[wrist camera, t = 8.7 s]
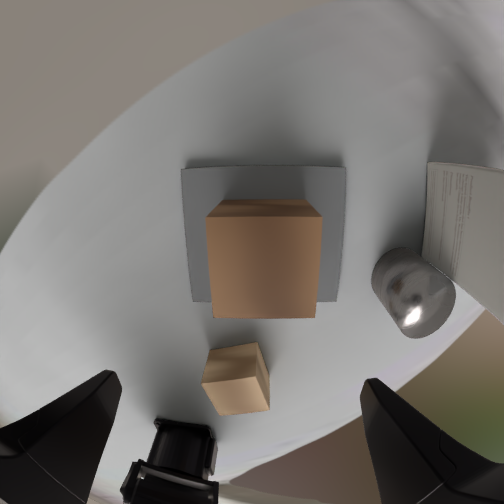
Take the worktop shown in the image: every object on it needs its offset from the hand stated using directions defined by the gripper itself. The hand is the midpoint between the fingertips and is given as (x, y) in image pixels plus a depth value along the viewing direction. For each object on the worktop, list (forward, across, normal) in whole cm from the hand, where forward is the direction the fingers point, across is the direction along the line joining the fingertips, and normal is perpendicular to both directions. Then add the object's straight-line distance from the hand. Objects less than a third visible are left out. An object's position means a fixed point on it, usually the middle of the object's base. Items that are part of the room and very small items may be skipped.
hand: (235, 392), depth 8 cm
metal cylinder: (+11, -11, +1) cm, 15 cm away
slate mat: (+11, -1, -2) cm, 11 cm away
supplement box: (+11, -16, -5) cm, 20 cm away
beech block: (+11, +1, +8) cm, 14 cm away
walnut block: (+10, -1, -2) cm, 10 cm away
